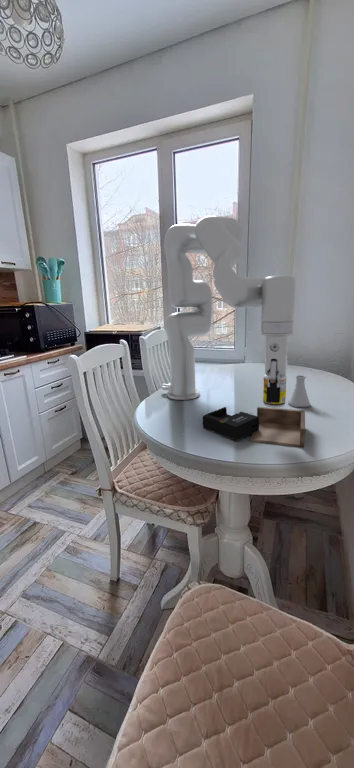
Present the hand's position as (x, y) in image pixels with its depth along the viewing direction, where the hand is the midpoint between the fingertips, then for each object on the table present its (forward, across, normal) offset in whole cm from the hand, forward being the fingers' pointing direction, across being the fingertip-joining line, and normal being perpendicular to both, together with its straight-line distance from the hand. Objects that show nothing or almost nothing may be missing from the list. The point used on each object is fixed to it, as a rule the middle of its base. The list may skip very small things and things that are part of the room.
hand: (274, 397), depth 83 cm
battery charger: (+11, +1, +12) cm, 16 cm away
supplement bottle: (+2, 0, 0) cm, 2 cm away
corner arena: (+11, +2, -1) cm, 11 cm away
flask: (+11, +28, -6) cm, 31 cm away
